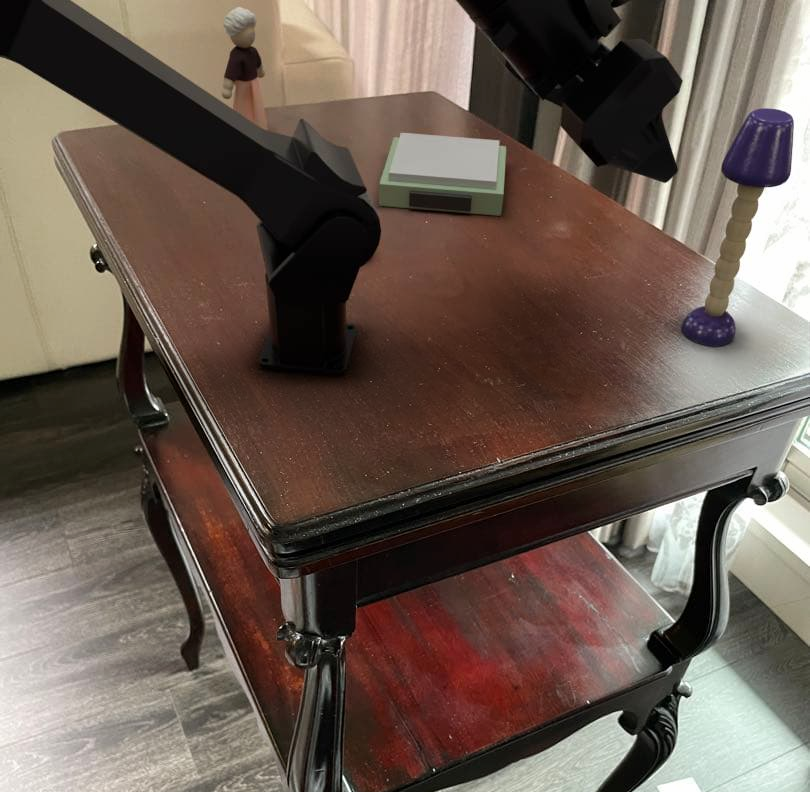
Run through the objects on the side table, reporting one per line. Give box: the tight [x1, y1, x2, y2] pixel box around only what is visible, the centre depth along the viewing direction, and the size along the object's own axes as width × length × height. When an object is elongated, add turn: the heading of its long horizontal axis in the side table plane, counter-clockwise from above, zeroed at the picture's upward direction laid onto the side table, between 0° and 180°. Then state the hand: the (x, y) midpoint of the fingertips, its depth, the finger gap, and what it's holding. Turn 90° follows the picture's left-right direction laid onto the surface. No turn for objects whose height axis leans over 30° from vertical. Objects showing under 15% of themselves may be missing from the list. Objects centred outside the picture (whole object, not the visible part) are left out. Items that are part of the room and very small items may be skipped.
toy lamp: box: [680, 107, 795, 347], centre depth 62 cm, size 5×5×17 cm
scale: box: [378, 132, 507, 217], centre depth 85 cm, size 12×12×3 cm
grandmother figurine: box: [221, 6, 269, 131], centre depth 88 cm, size 8×4×13 cm, turn 168°
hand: (642, 149), depth 59 cm, fingers open, 9 cm apart
